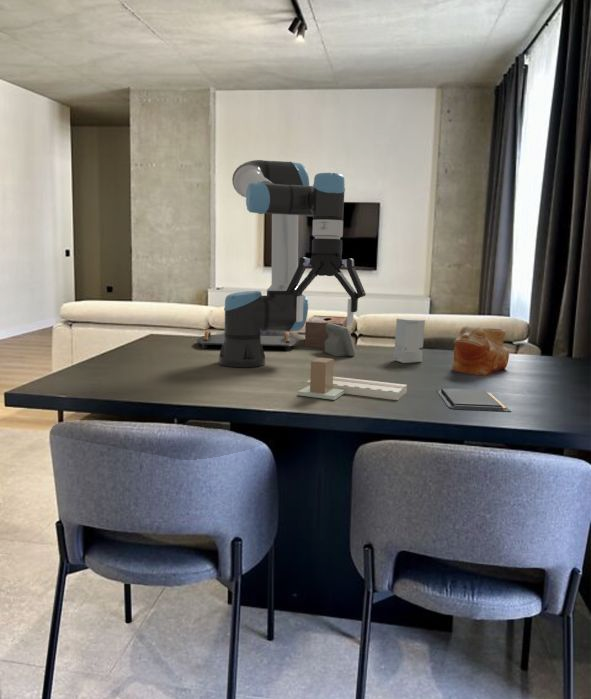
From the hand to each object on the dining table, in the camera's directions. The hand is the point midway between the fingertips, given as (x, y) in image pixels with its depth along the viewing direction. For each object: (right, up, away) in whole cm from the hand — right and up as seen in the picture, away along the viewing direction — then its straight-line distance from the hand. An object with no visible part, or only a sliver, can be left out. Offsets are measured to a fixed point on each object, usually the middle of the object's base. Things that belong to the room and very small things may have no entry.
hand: (324, 323), depth 149 cm
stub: (-1, -18, +3) cm, 19 cm away
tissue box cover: (+5, -4, +92) cm, 93 cm away
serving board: (-26, -6, +80) cm, 84 cm away
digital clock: (+9, -8, +67) cm, 68 cm away
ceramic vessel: (+53, -14, +43) cm, 70 cm away
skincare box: (+32, -11, +55) cm, 65 cm away
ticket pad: (+9, -18, +9) cm, 22 cm away
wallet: (+38, -21, +2) cm, 43 cm away
